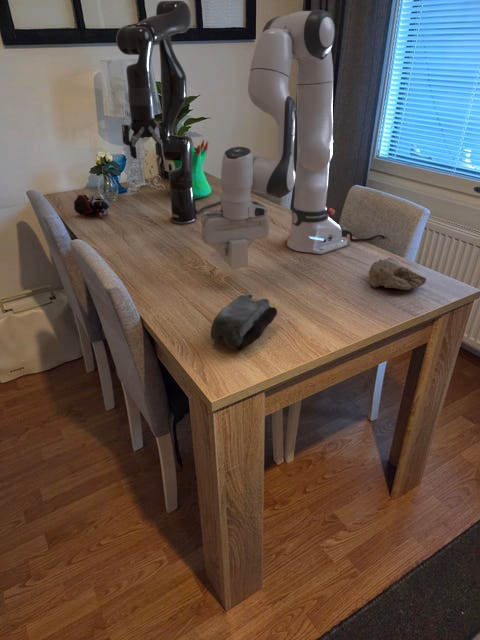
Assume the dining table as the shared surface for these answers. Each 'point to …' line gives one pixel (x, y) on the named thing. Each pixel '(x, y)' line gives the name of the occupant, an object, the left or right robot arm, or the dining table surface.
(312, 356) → the dining table surface
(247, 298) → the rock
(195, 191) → the toy
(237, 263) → the bar
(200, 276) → the dining table surface
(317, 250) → the right robot arm
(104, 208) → the toy
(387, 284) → the artifact
